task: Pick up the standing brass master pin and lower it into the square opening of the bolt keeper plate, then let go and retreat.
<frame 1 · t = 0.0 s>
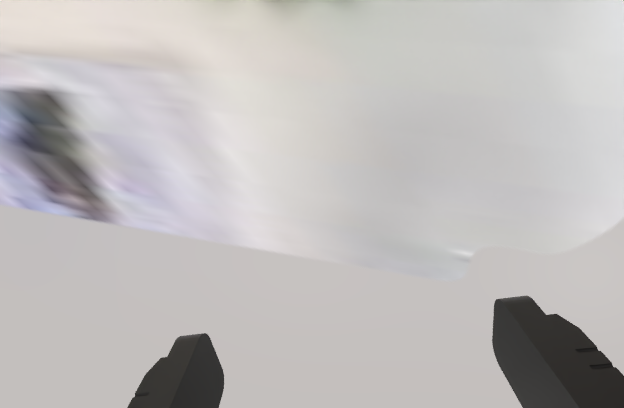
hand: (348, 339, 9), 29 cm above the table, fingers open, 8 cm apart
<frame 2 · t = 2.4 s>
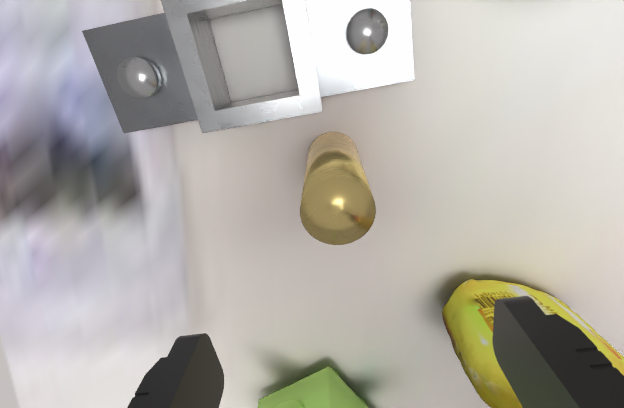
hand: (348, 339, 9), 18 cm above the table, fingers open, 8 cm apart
bolt keeper plate: (257, 55, 23), on the table
bottle: (496, 296, 31), on the table
master pin: (332, 156, 26), on the table
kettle: (325, 394, 38), on the table
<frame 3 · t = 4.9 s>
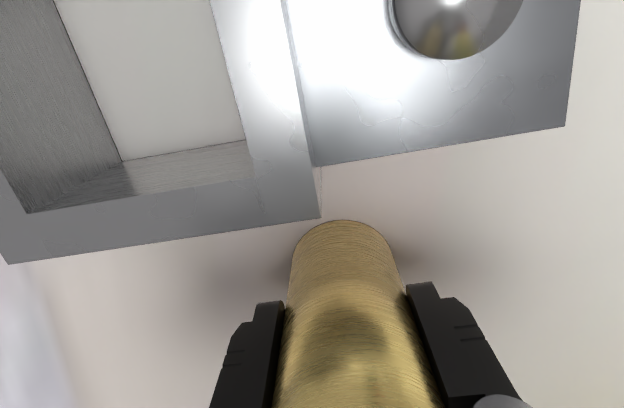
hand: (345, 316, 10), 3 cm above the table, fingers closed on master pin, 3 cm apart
bolt keeper plate: (169, 60, 10), on the table
master pin: (341, 264, 13), on the table, touching gripper
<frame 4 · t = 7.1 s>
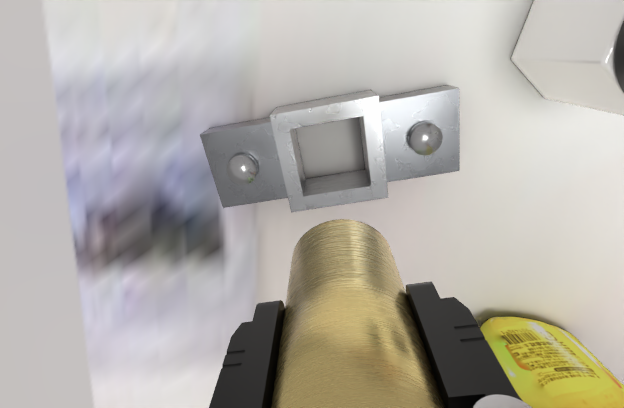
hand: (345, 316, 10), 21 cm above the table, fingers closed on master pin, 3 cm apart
bolt keeper plate: (330, 145, 29), on the table
bottle: (516, 329, 37), on the table
master pin: (341, 263, 13), point 18 cm above the table, touching gripper
jar: (570, 37, 25), on the table
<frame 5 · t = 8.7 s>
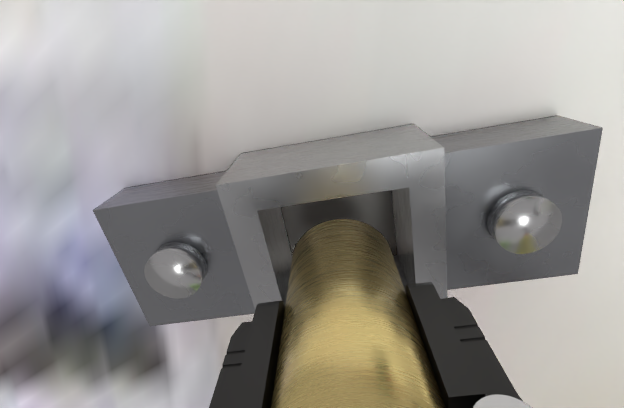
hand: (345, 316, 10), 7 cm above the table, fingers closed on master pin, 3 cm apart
bolt keeper plate: (337, 216, 17), on the table
master pin: (341, 263, 13), point 4 cm above the table, touching gripper
when the fingers open (5 cm above the table, at t = 9.7 s): master pin drops 2 cm, resting in bolt keeper plate.
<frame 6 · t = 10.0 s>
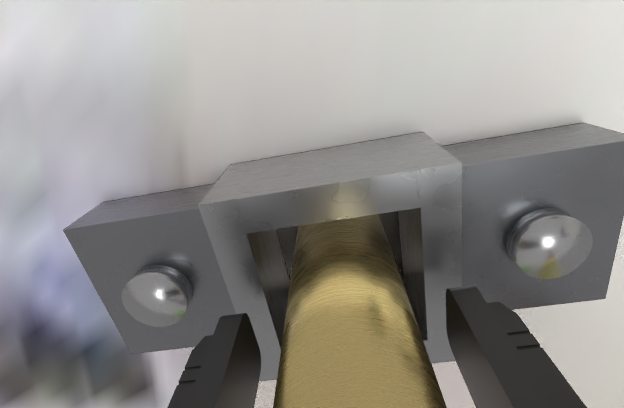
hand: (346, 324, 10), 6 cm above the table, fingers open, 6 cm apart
bolt keeper plate: (338, 232, 15), on the table
master pin: (339, 232, 15), resting in bolt keeper plate
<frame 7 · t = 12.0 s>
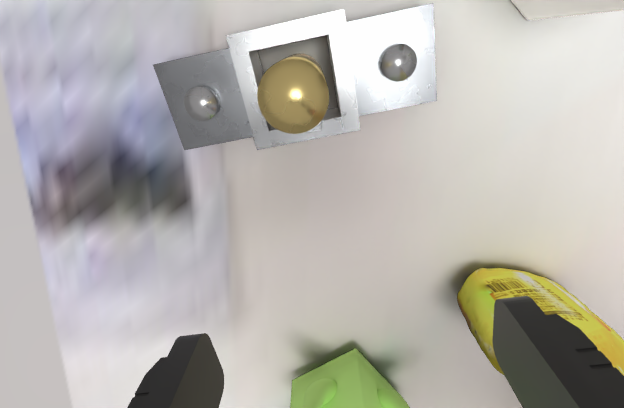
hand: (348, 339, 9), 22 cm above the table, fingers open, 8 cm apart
bolt keeper plate: (299, 79, 27), on the table
bottle: (503, 282, 36), on the table
master pin: (300, 79, 27), resting in bolt keeper plate
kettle: (349, 374, 42), on the table
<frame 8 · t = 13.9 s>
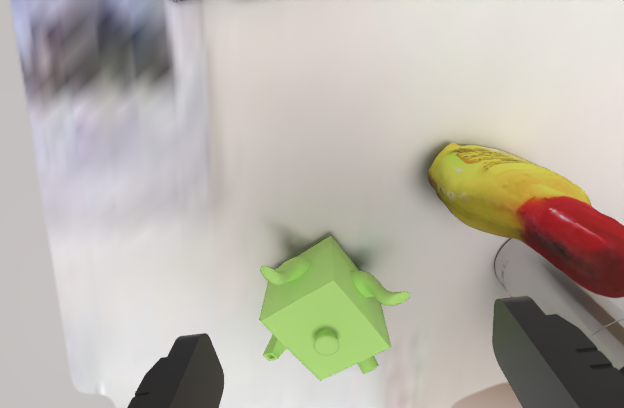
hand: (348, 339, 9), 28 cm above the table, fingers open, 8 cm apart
bottle: (474, 168, 37), on the table
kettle: (327, 272, 43), on the table
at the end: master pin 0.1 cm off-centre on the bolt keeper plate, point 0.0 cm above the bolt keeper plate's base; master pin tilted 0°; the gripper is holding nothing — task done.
